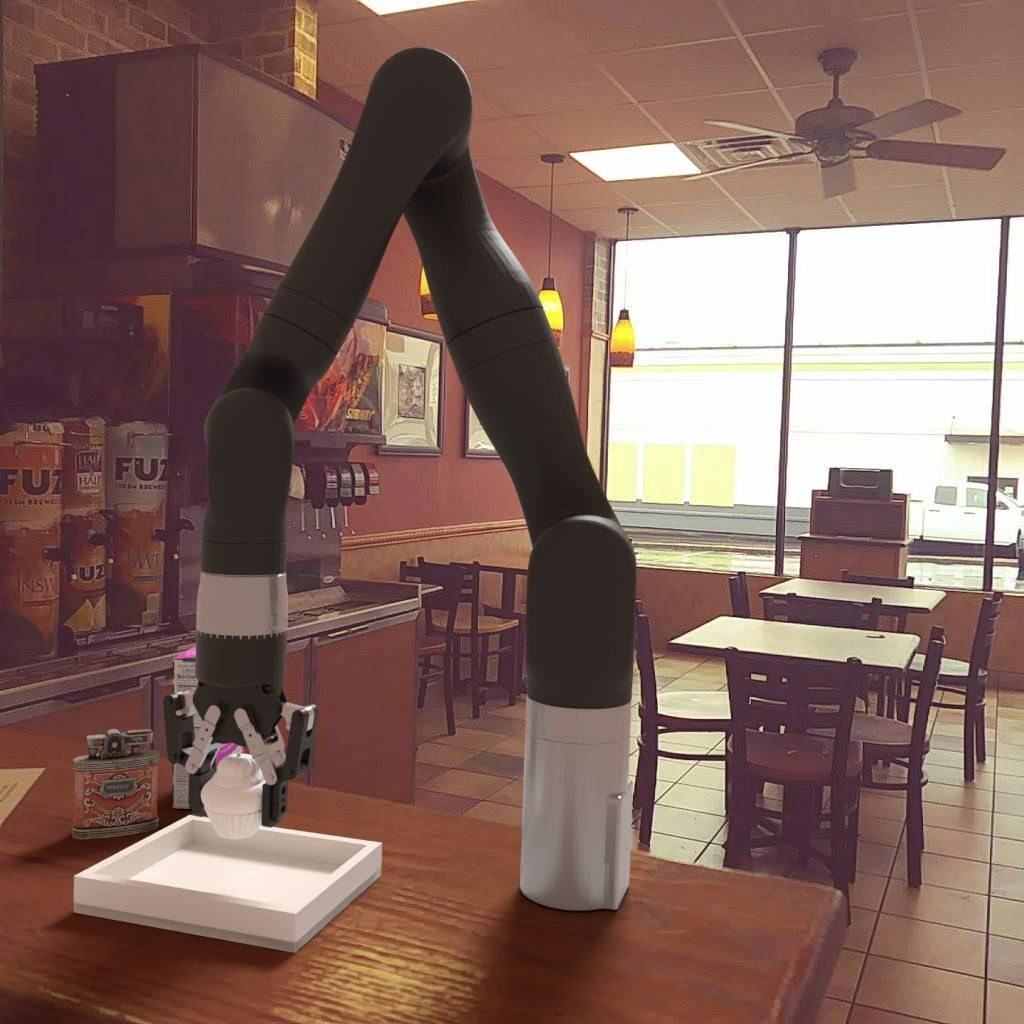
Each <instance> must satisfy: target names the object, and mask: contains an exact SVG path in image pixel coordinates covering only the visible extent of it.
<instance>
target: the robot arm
mask: <svg viewBox="0 0 1024 1024" xmlns="http://www.w3.org/2000/svg"><path fill="white" fill-rule="evenodd" d="M473 118H474V97H473V93H472V87H471V85H470V81H469V79H468V76H467V74H466V73H465V71H464V69H463V68H462V66H461V65H460V64H459V63H458V62H457V61H456V60H455V59H454V58H452V56H450V55H449V54H447V53H445V52H443V51H441V50H439V49H437V48H432V47H428V46H413V47H408V48H405V49H402V50H400V51H398V52H396V53H394V54H393V55H391V56H390V57H388V58H386V60H385V61H384V62H383V63H382V64H381V65H380V67H379V68H378V69H377V70H376V72H375V73H374V76H373V78H372V81H371V82H370V85H369V88H368V92H367V95H366V99H365V102H364V105H363V108H362V111H361V115H360V117H359V121H358V123H357V126H356V128H355V131H354V135H353V136H352V137H353V138H352V140H351V143H350V146H349V147H348V150H347V152H346V155H345V158H344V159H343V162H342V165H341V167H340V169H339V171H338V173H337V177H335V181H334V183H333V184H332V186H331V189H330V191H329V193H328V195H327V197H326V198H325V200H324V201H325V202H324V203H323V205H322V207H321V208H320V211H319V213H318V214H317V216H316V218H315V220H314V222H313V224H312V225H311V228H310V230H309V231H308V233H307V235H306V237H305V239H304V240H303V242H302V244H301V246H300V247H299V249H298V251H297V252H296V254H295V256H294V258H293V259H292V262H291V263H290V265H289V267H288V268H287V270H286V272H285V274H284V275H283V277H282V279H281V280H280V282H279V285H278V286H277V288H276V289H275V292H274V293H273V295H272V298H271V299H270V301H269V302H268V305H267V306H266V308H265V310H264V312H263V313H262V316H261V317H260V320H259V321H258V323H257V326H256V328H255V331H254V333H253V335H252V338H251V341H250V343H249V345H248V348H247V349H246V351H245V353H244V354H243V355H242V357H241V359H240V361H239V362H238V363H237V365H236V367H235V368H234V370H233V371H232V373H231V374H230V376H229V377H228V379H227V381H226V382H225V383H224V385H223V387H222V389H221V390H220V392H219V394H218V395H217V397H216V398H215V400H214V401H213V404H212V406H211V407H210V409H209V410H208V411H207V412H208V413H207V414H206V417H205V419H204V425H203V439H204V443H205V446H206V455H207V456H206V457H207V458H206V459H207V460H206V461H207V463H206V468H207V469H206V470H207V471H206V473H207V474H206V477H207V479H206V480H207V481H206V483H207V487H206V488H207V490H206V491H207V506H206V510H205V513H204V516H203V521H202V534H201V554H200V555H201V556H200V557H201V558H200V560H201V561H200V579H199V586H198V591H197V598H196V599H197V601H196V617H195V618H196V626H195V627H196V628H195V646H196V656H195V676H196V678H197V680H198V685H197V688H196V690H195V692H189V691H188V690H182V691H178V692H175V693H173V692H172V693H170V694H167V695H164V697H163V700H162V705H163V717H164V719H163V720H164V729H165V731H164V732H165V742H166V752H167V753H166V754H167V760H168V762H169V763H170V764H177V763H178V764H180V765H182V766H184V767H185V768H186V770H187V772H188V773H189V796H188V803H189V806H190V809H192V810H191V811H192V815H193V816H197V817H206V816H208V815H207V813H206V811H205V809H204V806H205V805H204V804H203V802H202V800H201V791H202V788H203V787H204V785H205V784H206V783H207V782H208V781H210V780H211V779H212V777H213V775H214V773H215V769H211V765H212V764H213V762H214V760H215V758H216V756H217V754H218V752H219V750H220V748H221V747H222V746H223V745H224V744H228V743H234V744H237V745H239V746H243V747H245V748H248V751H249V755H251V756H252V758H253V760H255V761H257V762H258V764H259V767H260V770H261V772H262V775H263V777H264V780H265V782H266V783H265V784H263V787H262V821H261V825H262V826H263V827H269V828H271V827H276V825H278V824H279V823H280V822H281V820H282V819H283V818H285V817H286V814H287V812H288V795H289V792H288V791H289V781H292V780H294V779H296V778H298V777H300V776H302V775H304V774H305V773H307V772H309V771H310V768H311V764H312V759H313V758H312V757H313V751H314V745H315V738H316V732H317V731H316V730H317V724H318V718H319V708H318V706H317V705H315V704H313V703H310V704H308V705H305V706H303V705H299V704H296V703H292V702H289V700H288V698H287V695H286V693H285V689H284V685H285V680H286V675H287V654H288V621H289V618H288V617H289V616H288V615H289V594H288V593H289V592H288V585H287V573H286V571H287V551H288V550H287V548H288V546H287V543H288V528H287V525H288V524H287V508H288V507H287V506H288V502H289V496H290V490H291V489H290V488H291V482H292V481H291V480H292V474H293V465H294V464H293V463H294V452H295V451H294V450H295V427H294V425H295V424H296V422H297V419H298V418H299V415H300V414H301V412H302V411H303V408H304V407H305V404H306V402H307V400H308V398H309V396H310V394H311V393H312V391H313V390H314V387H315V386H316V385H317V384H318V383H319V382H320V381H321V380H322V379H323V377H325V375H326V373H327V372H328V371H329V370H330V368H331V367H332V365H333V363H334V361H335V360H336V358H337V356H338V354H339V353H340V351H341V349H342V347H343V345H344V343H345V342H346V340H347V338H348V336H349V334H350V333H351V330H352V329H353V327H354V325H355V323H356V321H357V319H358V317H359V315H360V313H361V310H362V309H363V307H364V304H365V302H366V300H367V297H368V295H369V293H370V291H371V288H372V286H373V283H374V281H375V278H376V277H377V276H376V275H377V274H378V271H379V269H380V266H381V263H382V261H383V259H384V256H385V253H386V252H387V251H386V250H387V248H388V246H389V244H390V241H391V239H392V236H393V234H394V232H395V230H396V227H397V225H398V223H399V222H400V220H401V217H402V215H403V217H404V219H405V221H406V223H407V225H408V228H409V230H410V232H411V234H412V236H413V239H414V241H415V244H416V247H417V251H418V253H419V257H420V260H421V264H422V268H423V272H424V276H425V280H426V284H427V287H428V290H429V291H428V292H429V294H430V298H431V301H432V304H433V305H432V306H433V308H434V311H435V313H436V317H437V321H438V324H439V326H440V329H441V333H442V335H443V339H444V342H445V345H446V346H447V350H448V353H449V357H450V358H451V361H452V363H453V367H454V369H455V371H456V375H457V377H458V379H459V382H460V385H461V387H462V389H463V391H464V394H465V395H466V398H467V400H468V402H469V404H470V406H471V409H472V410H473V412H474V414H475V416H476V418H477V420H478V422H479V423H480V425H481V428H482V429H483V431H484V433H485V434H486V436H487V438H488V440H489V441H490V443H491V445H492V447H493V449H494V450H495V452H496V453H497V455H498V456H499V459H500V460H501V463H503V465H504V467H505V469H506V471H507V473H508V474H509V477H510V478H511V479H510V480H511V481H512V484H513V486H514V489H515V492H516V494H517V497H518V501H519V503H520V506H521V507H520V508H521V510H522V513H523V517H524V520H525V524H526V527H527V530H528V534H529V538H530V539H529V540H530V542H531V543H530V544H531V547H532V548H531V549H532V550H531V552H530V554H529V559H528V565H527V571H526V573H527V575H526V596H525V597H526V599H525V600H526V601H525V648H524V649H525V650H524V653H525V654H524V656H525V657H524V659H525V660H524V661H525V663H524V664H525V669H526V700H525V701H526V702H525V705H526V706H525V729H524V730H525V731H524V734H525V735H524V757H523V759H524V761H523V762H524V764H523V789H522V790H523V793H522V795H523V796H522V822H521V823H522V825H521V849H520V850H521V851H520V852H521V853H520V854H521V855H520V864H519V867H520V868H519V871H520V878H519V879H520V883H519V884H520V885H519V886H520V890H521V892H522V894H523V895H524V896H525V897H526V898H527V899H528V900H531V901H533V902H534V903H536V904H540V905H543V906H545V907H549V908H553V909H557V910H558V909H559V910H566V911H592V910H600V909H601V910H602V909H603V910H604V909H605V910H606V909H607V910H613V911H614V910H616V911H617V910H618V909H619V906H620V905H621V903H622V901H623V899H624V896H625V894H626V892H627V891H628V888H629V885H630V875H631V871H630V870H631V847H632V845H631V844H632V843H631V841H632V821H633V820H632V819H633V817H632V816H633V793H634V784H633V780H632V779H629V775H630V746H631V724H632V723H631V722H632V721H631V720H632V717H631V716H632V698H633V681H634V679H633V678H634V663H635V662H634V661H635V657H634V655H635V651H634V650H635V629H636V628H635V627H636V625H635V624H636V608H637V607H636V606H637V605H636V604H637V603H636V602H637V582H638V581H637V578H638V577H637V575H638V573H637V569H638V568H637V555H636V552H635V548H634V546H633V544H632V542H631V539H630V538H629V536H628V534H627V533H626V531H625V530H624V528H623V527H622V524H621V523H620V521H619V519H618V517H617V515H616V513H615V511H614V509H613V507H612V505H611V504H610V503H611V502H610V501H609V499H608V497H607V495H606V493H605V491H604V489H603V487H602V484H601V483H600V480H599V478H598V476H597V474H596V472H595V469H594V467H593V464H592V462H591V459H590V458H589V457H590V456H589V455H588V451H587V449H586V446H585V442H584V438H583V434H582V429H581V426H580V421H579V417H578V413H577V407H576V404H575V400H574V397H573V393H572V389H571V386H570V382H569V379H568V376H567V375H568V374H567V372H566V368H565V366H564V362H563V359H562V356H561V355H562V354H561V352H560V349H559V346H558V343H557V341H556V337H555V336H554V332H553V329H552V327H551V325H550V322H549V320H548V316H547V314H546V311H545V309H544V306H543V304H542V301H541V298H540V297H539V295H538V293H537V290H536V288H535V286H534V285H533V282H532V281H531V279H530V277H529V276H528V273H527V272H526V270H525V269H524V267H523V266H522V264H521V262H520V261H519V260H518V258H517V257H516V255H515V254H514V252H513V251H512V250H511V249H510V247H509V246H508V244H507V243H506V241H505V240H504V239H503V237H502V235H501V234H500V232H499V231H498V228H497V227H496V225H495V224H494V222H493V219H492V218H491V215H490V213H489V211H488V208H487V205H486V202H485V200H484V197H483V193H482V189H481V187H480V186H481V185H480V184H479V180H478V176H477V173H476V169H475V168H476V167H475V165H474V162H473V156H472V153H471V146H470V135H471V134H470V133H471V129H472V123H473V120H474V119H473ZM195 710H197V712H198V714H199V715H200V717H201V719H202V721H203V724H202V726H201V728H200V730H199V732H198V734H197V736H196V738H195V732H194V720H193V714H194V713H195ZM283 718H284V720H285V729H286V730H287V731H289V733H288V739H287V745H285V741H284V739H283V738H284V737H283V736H282V733H281V731H280V729H279V726H278V724H279V723H280V722H281V721H282V719H283ZM265 740H266V743H264V741H265ZM285 746H286V752H285Z"/></svg>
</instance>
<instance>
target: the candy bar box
mask: <svg viewBox="0 0 1024 1024" xmlns="http://www.w3.org/2000/svg"><path fill="white" fill-rule="evenodd" d="M195 656H196V645H195V646H193V647H192V648H190V649H188V650H185V651H184V652H182V653H180V654H179V655H177V656H175V657H173V658H172V693H175V692H178V691H182V690H188V691H189V692H195V690H196V688H197V685H198V680H197V678H196V676H195ZM193 720H194V732H195V738H196V736H197V734H198V732H199V730H200V728H201V726H202V724H203V721H202V719H201V717H200V715H199V714H198V712H197V710H195V713H194V714H193ZM244 750H245V749H244V747H243V746H239V745H237V744H234V743H228V744H224V745H223V746H222V747H221V748H220V750H219V752H218V754H217V756H216V758H215V760H214V762H213V764H212V765H211V769H215V772H216V771H217V767H218V763H219V762H220V761H221V760H222V759H223V758H224V757H226V756H229V755H231V754H238V753H239V752H240V753H241V754H245V753H244V752H245V751H244ZM171 764H172V763H171ZM171 769H172V770H171V771H172V773H171V775H172V776H171V777H172V778H171V779H172V781H171V782H172V783H171V785H172V786H171V792H172V794H171V807H172V809H173V807H174V808H175V807H181V808H182V807H184V808H185V807H186V808H190V806H189V803H188V796H189V773H188V772H187V770H186V768H185V767H184V766H182V765H180V764H178V763H177V764H172V767H171Z"/></svg>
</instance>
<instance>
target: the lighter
mask: <svg viewBox="0 0 1024 1024" xmlns="http://www.w3.org/2000/svg"><path fill="white" fill-rule="evenodd" d="M153 742H154V732H153V730H152V729H150V728H144V729H129V730H127V732H120V730H118V729H116V728H112V729H108V730H107V731H106V732H105V734H93V735H87V736H86V747H87V753H88V754H87V755H86V754H85V755H79V756H76V757H75V758H73V760H72V761H73V763H72V764H73V765H72V766H73V767H72V768H73V769H74V807H73V808H74V811H73V813H74V818H73V821H74V822H73V823H74V824H73V825H72V828H71V837H72V838H73V839H77V840H88V839H90V840H92V839H102V838H103V839H104V838H112V837H114V838H115V837H122V836H127V835H128V836H129V835H134V834H141V833H146V832H151V831H155V830H156V828H157V827H158V828H159V821H160V820H159V816H158V782H159V780H158V779H159V778H158V776H159V775H158V774H159V772H158V771H159V762H160V761H161V760H160V759H161V752H160V751H159V750H155V749H140V748H141V747H140V745H143V744H152V743H153ZM125 746H130V750H127V749H126V748H125ZM98 750H99V753H98ZM158 828H157V829H158ZM152 829H153V830H152ZM154 829H155V830H154ZM150 830H151V831H150ZM140 832H141V833H140Z"/></svg>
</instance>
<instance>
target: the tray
mask: <svg viewBox="0 0 1024 1024" xmlns="http://www.w3.org/2000/svg"><path fill="white" fill-rule="evenodd" d="M382 856H383V842H379V841H371V840H366V839H365V840H364V839H358V838H352V837H344V836H339V835H338V836H337V835H330V834H324V833H323V834H322V833H317V832H309V831H303V830H298V829H297V830H296V829H289V828H288V829H287V828H282V827H277V826H273V827H271V828H269V827H263V826H262V824H261V825H260V826H259V828H258V830H257V832H256V833H255V834H254V835H253V836H250V837H247V838H244V839H227V838H222V837H220V836H218V834H217V832H216V830H215V829H214V827H213V825H212V823H211V821H210V819H209V817H208V816H207V817H206V816H203V817H197V816H193V814H188V815H187V816H185V817H183V818H180V819H179V820H177V821H175V822H173V823H172V824H170V825H168V826H166V827H164V828H162V829H160V830H158V831H156V832H154V833H152V834H151V835H149V836H147V837H145V838H142V839H141V840H140V841H138V842H135V843H133V844H132V845H130V846H128V847H126V848H124V849H122V850H119V852H117V853H115V854H113V855H111V856H110V857H109V856H108V857H107V858H106V859H103V860H101V861H100V862H98V863H96V864H94V865H92V866H90V867H88V868H86V869H84V870H82V871H81V872H79V873H76V874H75V875H73V911H72V912H73V913H74V914H81V915H85V916H92V917H97V918H101V919H103V918H104V919H108V920H113V921H119V922H124V923H131V924H136V925H141V926H147V927H153V928H157V929H162V930H168V931H174V932H180V933H185V934H189V935H190V934H191V935H197V936H201V937H207V938H210V939H211V938H212V939H216V940H217V939H218V940H222V941H228V942H234V943H241V944H244V945H245V944H246V945H248V946H249V945H250V946H255V947H261V948H267V949H273V950H277V951H283V952H287V953H295V954H296V953H297V952H298V951H299V950H300V949H301V948H303V946H304V945H306V944H307V943H308V942H309V941H310V940H311V939H312V938H313V937H315V936H316V935H317V934H318V933H319V932H320V931H321V930H323V928H324V927H326V926H327V925H328V924H329V923H330V922H331V921H332V920H333V919H335V918H336V917H337V916H338V915H339V914H340V913H341V912H342V911H343V910H344V909H346V908H347V907H348V906H349V905H350V904H351V903H353V902H354V901H355V899H357V898H358V897H359V896H360V895H362V893H364V892H365V891H366V890H367V889H368V888H369V887H370V886H372V884H374V883H375V882H376V881H377V880H378V879H379V878H380V877H381V876H382V860H383V859H382Z"/></svg>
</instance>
